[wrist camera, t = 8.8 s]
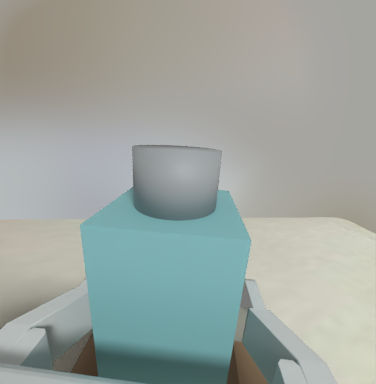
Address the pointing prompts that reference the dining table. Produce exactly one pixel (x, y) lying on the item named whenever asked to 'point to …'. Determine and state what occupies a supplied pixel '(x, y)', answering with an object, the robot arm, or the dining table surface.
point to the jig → (237, 376)
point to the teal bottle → (166, 271)
